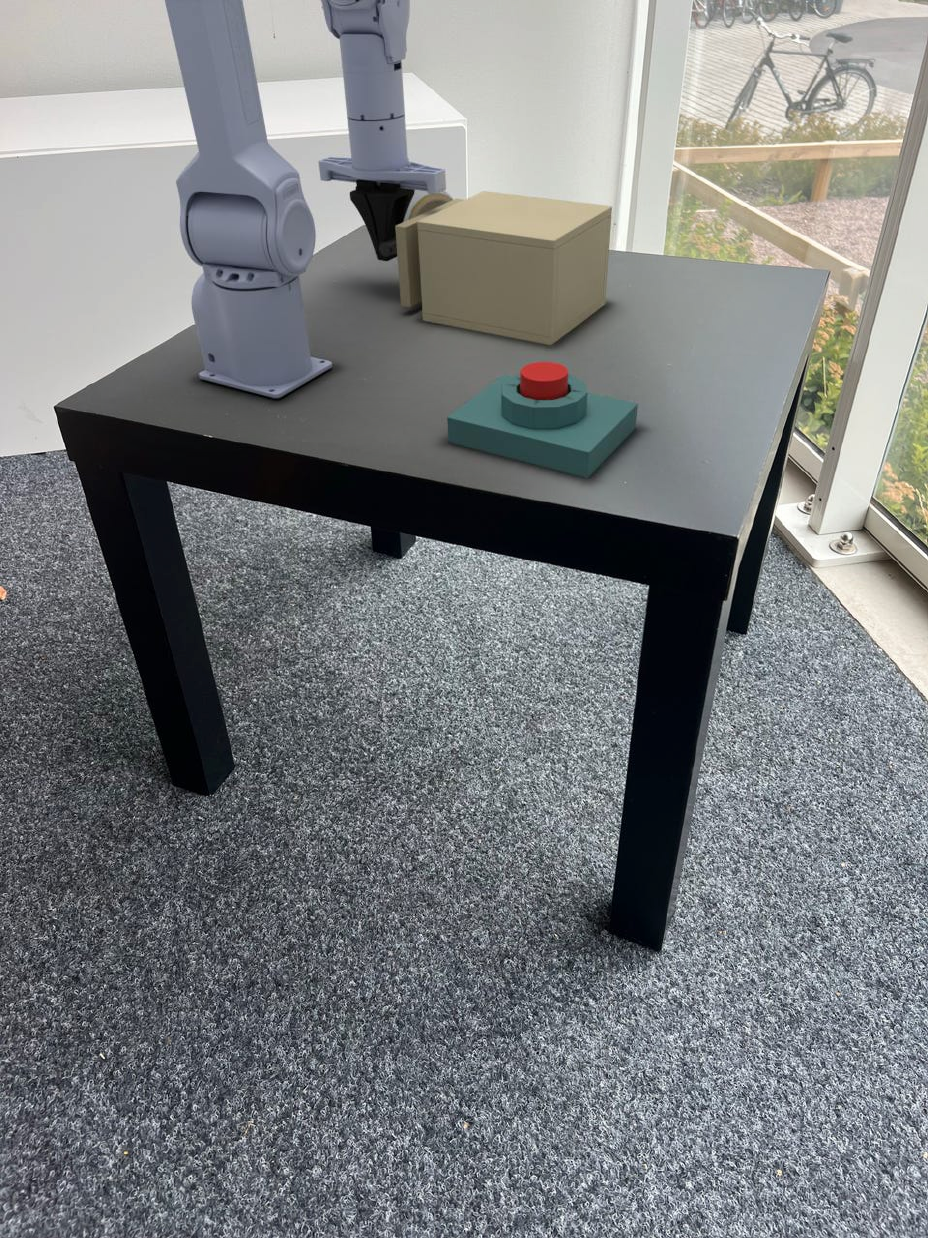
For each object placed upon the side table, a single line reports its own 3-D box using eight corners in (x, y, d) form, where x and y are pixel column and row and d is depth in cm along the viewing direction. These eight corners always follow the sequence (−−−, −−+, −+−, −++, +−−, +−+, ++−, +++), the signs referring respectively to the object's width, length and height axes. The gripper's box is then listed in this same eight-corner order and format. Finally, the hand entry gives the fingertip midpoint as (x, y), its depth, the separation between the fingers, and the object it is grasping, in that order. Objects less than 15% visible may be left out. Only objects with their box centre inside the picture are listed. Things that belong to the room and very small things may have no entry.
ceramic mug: (410, 261, 105) (406, 191, 101) (386, 243, 111) (382, 176, 107) (490, 249, 109) (490, 181, 104) (463, 232, 115) (462, 167, 110)
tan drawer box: (422, 320, 90) (416, 220, 84) (484, 283, 98) (483, 190, 92) (550, 345, 84) (554, 240, 78) (605, 304, 92) (612, 205, 86)
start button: (511, 396, 67) (511, 375, 66) (533, 379, 70) (534, 358, 68) (554, 406, 66) (555, 384, 65) (575, 388, 68) (576, 366, 67)
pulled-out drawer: (368, 299, 93) (360, 220, 88) (427, 268, 101) (423, 194, 96) (515, 327, 86) (516, 243, 81) (567, 291, 93) (571, 212, 88)
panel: (448, 442, 69) (445, 394, 67) (503, 398, 75) (503, 353, 73) (587, 479, 64) (590, 428, 62) (635, 428, 70) (640, 381, 68)
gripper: (459, 113, 87) (463, 256, 95) (342, 104, 93) (355, 239, 101) (420, 126, 82) (428, 275, 91) (299, 115, 88) (317, 256, 97)
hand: (387, 258), depth 96 cm, fingers closed
